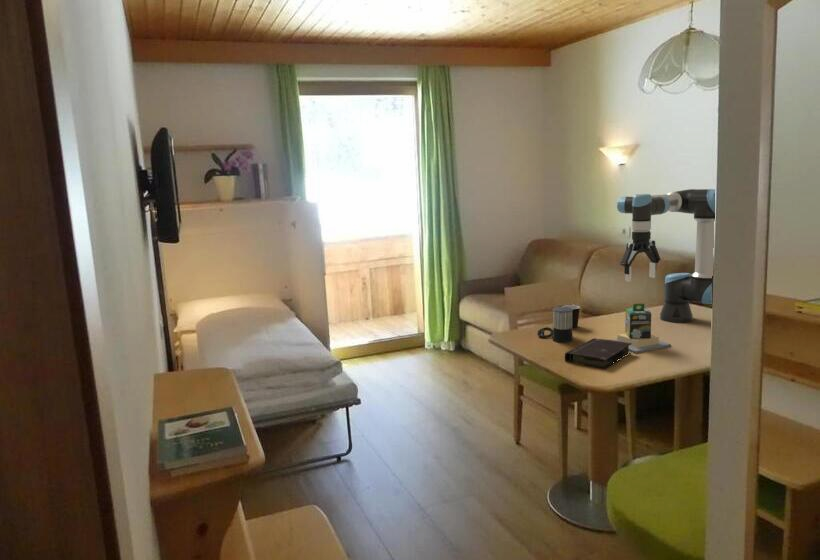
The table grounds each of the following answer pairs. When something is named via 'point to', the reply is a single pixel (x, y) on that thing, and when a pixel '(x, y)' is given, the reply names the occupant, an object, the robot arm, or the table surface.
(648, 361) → the table surface
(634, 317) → the chalk box
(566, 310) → the milk frother
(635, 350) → the board
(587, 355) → the diary
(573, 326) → the coffee mug
